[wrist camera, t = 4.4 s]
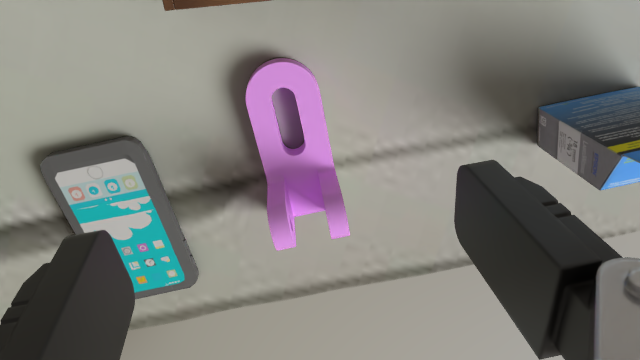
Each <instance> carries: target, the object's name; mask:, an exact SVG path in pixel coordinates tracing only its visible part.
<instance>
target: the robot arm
mask: <svg viewBox="0 0 640 360" xmlns="http://www.w3.org/2000/svg"><path fill="white" fill-rule="evenodd" d="M454 222H455V229H456V234H457V237H458V239H459V242H460V244H461V245H462V247H463V248H464V250H465V251H466V253H467V254H468V256H469V257H470V259H471V260H472V262H473V263H474V265H475V266H476V267H477V269H478V270H479V272H480V273H481V275H482V276H483V278H484V279H485V281H486V282H487V284H488V285H489V286H490V288H491V289H492V291H493V292H494V294H495V295H496V297H497V298H498V300H499V301H500V303H501V304H502V306H503V307H504V309H505V310H506V311H507V313H508V314H509V316H510V317H511V319H512V320H513V322H514V323H515V325H516V326H517V328H518V329H519V330H520V332H521V333H522V335H523V336H524V338H525V339H526V341H527V342H528V344H529V345H530V347H531V348H532V349H533V351H534V352H535V354H536V355H537V357H538V358H539V359H544V358H549V357H553V356H558V355H562V356H563V358H564V359H565V360H640V259H639V258H628V257H627V258H623V257H622V256H620V255H619V254H618V253H617V252H616V251H615V250H614V249H612V248H611V247H610V246H609V245H608V244H607V243H606V242H604V241H603V240H602V239H601V238H600V237H599V236H598V235H597V234H595V233H594V232H593V231H592V230H591V229H590V228H589V227H587V226H586V225H585V224H584V223H583V222H582V221H581V220H579V219H578V218H577V217H576V216H575V215H571V212H570V211H569V210H568V209H567V208H566V207H565V206H563V205H562V204H561V203H559V204H558V200H557V199H555V198H554V197H553V196H552V195H551V194H550V193H549V192H548V191H546V190H545V189H544V188H543V187H542V186H539V185H537V184H535V183H533V182H531V181H529V180H526V179H524V178H522V177H515V178H514V177H513V176H512V175H511V174H510V173H509V172H508V171H506V170H505V169H504V168H503V167H502V166H501V165H500V164H499V163H498V162H497V161H495V160H489V161H484V162H478V163H473V164H467V165H462V166H460V167H459V169H458V172H457V184H456V201H455V217H454ZM11 305H12V306H11V307H10V308H8V309H7V311H6V313H5V314H4V316H3V318H2V319H1V325H0V360H120V356H121V353H122V349H123V346H124V342H125V339H126V335H127V331H128V328H129V324H130V321H131V317H132V313H133V310H134V305H135V293H134V287H133V283H132V280H131V278H130V276H129V274H128V271H127V269H126V267H125V265H124V263H123V261H122V259H121V256H120V254H119V252H118V250H117V248H116V246H115V244H114V242H113V239H112V237H111V236H110V234H109V233H108V232H107V231H105V230H99V231H93V232H88V233H82V234H77V235H71V236H67V237H66V238H65V239H64V240H63V241H62V243H61V245H60V247H59V248H58V250H57V252H56V254H55V256H54V257H53V259H52V261H51V263H46V264H43V265H42V266H41V267H40V268H39V269H38V270H37V271H36V272H35V273H34V274H33V275H32V276H31V277H29V278H28V279H27V280H26V281H25V282H24V283H23V285H22V286H21V288H20V290H19V291H18V293H17V295H16V296H15V298H14V300H13V301H12V303H11Z"/></svg>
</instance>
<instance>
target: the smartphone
mask: <svg viewBox="0 0 640 360" xmlns="http://www.w3.org/2000/svg"><path fill="white" fill-rule="evenodd" d="M40 168H41V172H42V175H43V177H44V179H45V181H46V183H47V185H48V186H49V188H50V190H51V192H52V193H53V195H54V197H55V199H56V201H57V202H58V204H59V206H60V208H61V209H62V211H63V213H64V215H65V216H66V218H67V220H68V222H69V224H70V225H71V227H72V229H73V231H74V232H75V234H76V235H77V234H82V233H88V232H93V231H99V230H105V231H107V232H108V233H109V234H110V236H111V237H112V239H113V242H114V244H115V246H116V248H117V250H118V252H119V254H120V256H121V259H122V261H123V263H124V265H125V267H126V269H127V271H128V274H129V276H130V278H131V280H132V283H133V287H134V293H135V299H139V298H143V297H148V296H153V295H157V294H162V293H167V292H171V291H176V290H181V289H185V288H190V287H191V286H192V285H194V284H195V282H196V281H197V279H198V275H199V273H198V268H197V266H196V263H195V261H194V258H193V256H192V254H191V252H190V250H189V246H188V244H187V242H186V239H185V238H184V235H183V233H182V231H181V228H180V226H179V224H178V221H177V219H176V216H175V214H174V212H173V209H172V207H171V205H170V202H169V200H168V198H167V195H166V193H165V190H164V188H163V186H162V183H161V181H160V179H159V176H158V174H157V172H156V169H155V167H154V164H153V162H152V160H151V157H150V155H149V153H148V152H147V150H146V149H145V147H144V146H143V144H142V143H141V142H140V141H139V140H137V139H136V138H133V137H129V136H126V137H121V138H117V139H112V140H108V141H103V142H99V143H94V144H90V145H85V146H81V147H76V148H72V149H67V150H63V151H58V152H54V153H51V154H50V155H48V156H47V157H46V158H45V159H44V160H43V161H42V163H41V165H40Z"/></svg>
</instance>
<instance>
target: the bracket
mask: <svg viewBox="0 0 640 360" xmlns="http://www.w3.org/2000/svg"><path fill="white" fill-rule="evenodd" d="M279 88H288V89H290V90H291V91H292V92H293V93H294V94H295V97H296V102H297V106H298V111H299V115H300V120H301V124H302V129H303V134H304V138H305V140H304V143H303V144H302V145H301V146H300V147H299V148H296V149H290V148H288V147H286V146H285V145H284V144H283V142H282V138H281V134H280V130H279V126H278V122H277V118H276V114H275V110H274V106H273V102H272V98H271V96H272V94H273V92H274V91H275V90H277V89H279ZM246 106H247V110H248V113H249V117H250V121H251V124H252V128H253V131H254V135H255V139H256V142H257V146H258V149H259V153H260V157H261V160H262V164H263V167H264V171H265V175H266V178H267V184H268V190H267V214H268V221H269V227H270V231H271V236H272V239H273V243H274V246H275V248H276V250H277V251H278V250H282V249H287V248H292V247H296V237H295V223H294V217H296V216H300V215H305V214H310V213H315V212H320V211H324V210H326V215H327V220H328V224H329V229H330V234H331V238H332V239H335V238H340V237H345V236H349V235H350V232H349V226H348V221H347V216H346V211H345V206H344V202H343V198H342V194H341V190H340V186H339V183H338V179H337V176H336V172H335V168H334V163H333V158H332V153H331V148H330V142H329V137H328V132H327V127H326V121H325V116H324V111H323V106H322V101H321V95H320V91H319V87H318V84H317V81H316V79H315V77H314V75H313V74H312V72H311V71H310V70H309V69H308V68H307V67H306V66H304V65H303V64H302V63H300V62H298V61H295V60H292V59H287V58H277V59H272V60H269V61H267V62H265V63H263V64H262V65H260V66H259V67H258V68H257V69H256V70H255V71H254V72H253V74H252V75H251V77H250V79H249V82H248V86H247V90H246Z"/></svg>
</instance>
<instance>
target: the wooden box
mask: <svg viewBox="0 0 640 360" xmlns="http://www.w3.org/2000/svg"><path fill="white" fill-rule="evenodd" d="M260 1H270V0H163V5H164V9H165V11H168V10H175V9H176V10H178V9H188V8H199V7H209V6H219V5H229V4H239V3H249V2H260Z"/></svg>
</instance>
